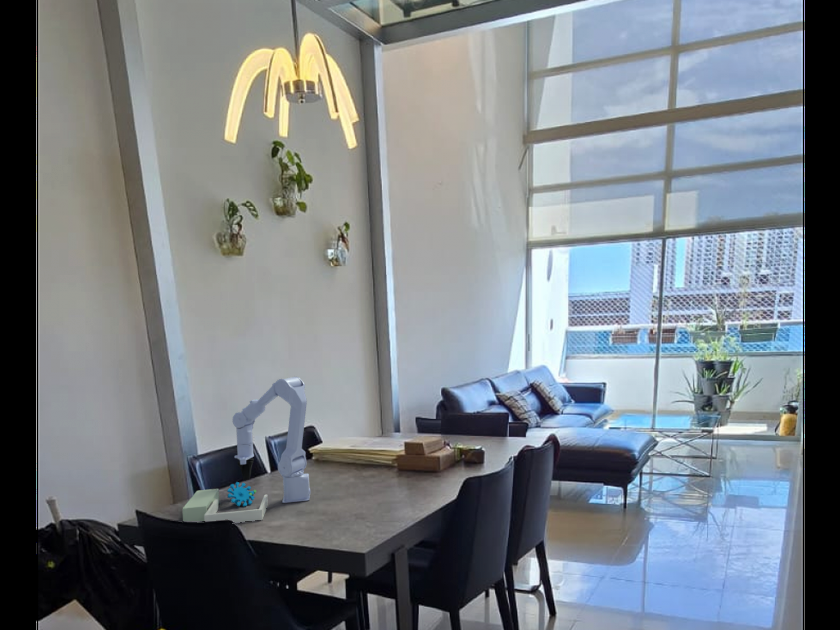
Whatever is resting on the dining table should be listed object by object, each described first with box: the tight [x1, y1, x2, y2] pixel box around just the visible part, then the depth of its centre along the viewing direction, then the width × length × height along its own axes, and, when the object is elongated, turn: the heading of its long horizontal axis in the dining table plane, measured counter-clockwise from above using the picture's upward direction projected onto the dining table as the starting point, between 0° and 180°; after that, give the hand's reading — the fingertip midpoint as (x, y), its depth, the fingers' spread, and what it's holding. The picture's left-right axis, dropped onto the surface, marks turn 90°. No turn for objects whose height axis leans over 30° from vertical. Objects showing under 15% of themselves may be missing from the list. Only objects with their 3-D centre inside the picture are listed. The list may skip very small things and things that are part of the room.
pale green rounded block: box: [182, 488, 220, 522], centre depth 205 cm, size 8×22×5 cm, turn 9°
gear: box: [226, 481, 257, 508], centre depth 212 cm, size 11×6×10 cm
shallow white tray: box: [204, 494, 269, 524], centre depth 200 cm, size 18×18×4 cm
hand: (246, 479), depth 223 cm, fingers closed
